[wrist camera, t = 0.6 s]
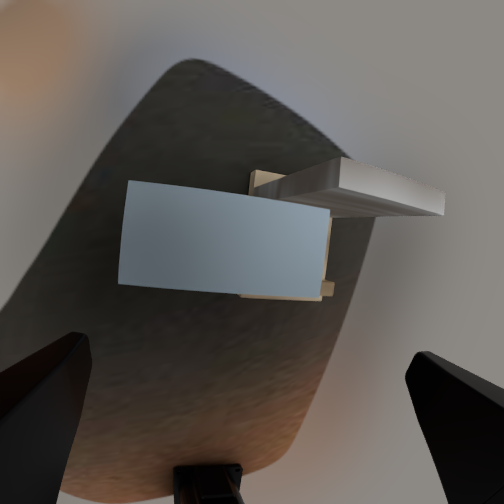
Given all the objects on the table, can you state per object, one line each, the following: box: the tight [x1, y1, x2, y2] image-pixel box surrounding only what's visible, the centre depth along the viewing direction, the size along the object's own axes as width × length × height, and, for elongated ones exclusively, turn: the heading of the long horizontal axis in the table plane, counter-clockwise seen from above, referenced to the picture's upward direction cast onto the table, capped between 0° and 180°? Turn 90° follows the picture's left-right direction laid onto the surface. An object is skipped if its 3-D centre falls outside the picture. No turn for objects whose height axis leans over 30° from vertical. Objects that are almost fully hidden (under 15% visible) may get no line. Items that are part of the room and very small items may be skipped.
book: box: [118, 180, 330, 298], centre depth 16 cm, size 3×6×13 cm, turn 83°
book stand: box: [237, 157, 445, 301], centre depth 18 cm, size 9×6×12 cm
